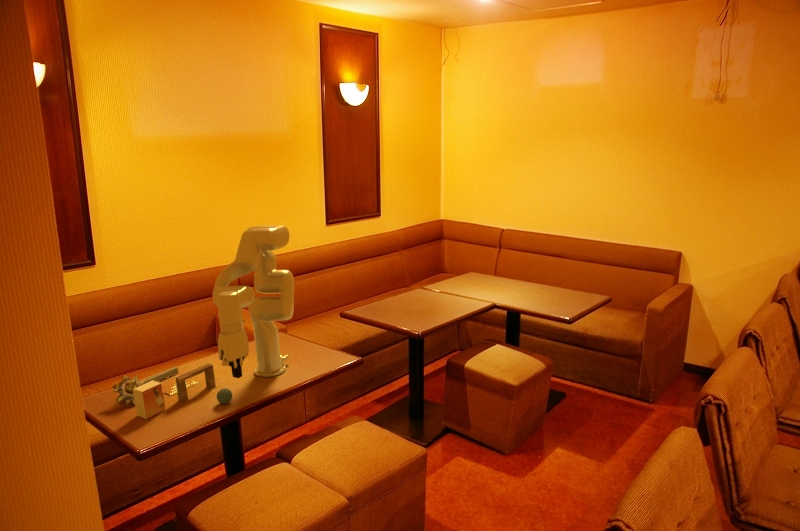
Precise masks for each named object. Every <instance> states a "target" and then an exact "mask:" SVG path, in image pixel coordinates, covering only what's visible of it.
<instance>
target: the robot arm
mask: <svg viewBox="0 0 800 531" xmlns="http://www.w3.org/2000/svg"><path fill="white" fill-rule="evenodd" d="M289 241H290V231H289V229H288V227H287V226H285V225H281V224H280V225H255V226H250V227H248V228H247V229H246V230H244V231H243V232H242V234H241V236H240V241H239V244H238V247H237V251H236V254H235V259H234V260H233V261H231V263H229V264H228V265H227V266H226V267H225V268H223V269H222V271H221V272H220V273H219V274H218V275H217V277H216V279H215V283H214V287H213V290H212V302H213V304H214V305H215V306H217V310H218V311H217V312H218V319H219V328H220V332H219V333H218V339H217V352H218V359H219V360H220V361H221V366H223V367H227V366H228V367H230V368H231V374H232V378H236V379H240V378H242V377H243V371H242V370H243V368H242V367H243V363H244V360H245V359H246V358H247V357H248V356H249V352H250V346H249V339H248V335H247V332H246V329H245V328H244V324H245V319H243V312H242V309H245V308H247V307H248V314H249V317H250V320H251V323H252V328H253V336H254V338H253V339H254V346H255V354H256V363H257V364H256V365H257V366H256V367H255V368H254V371H253V372H254V375H256V376H258V377H262V378H270V377H276V376H279V375H281V374H283V373H284V372H285V371H286V370H287V368H286V367H287V366H286V364H284V363H285V361H288V360H289V359H290V355H289V354H285V355H284V356H283V355H281V349H280V348H281V347H280V337H279V329H278V327H277V324H276V323H275V322H278V321H288V320H291V319H292V317H293V315H294V310H295V309H294V308H295V306H294V305H295V302H294V300H295V278H294V274H293V273H292V271H290V270H288V269H277V256H276V255H275V254H274V252H273V251H277V250H280V249H282V248H285V247H286V246H288V243H289ZM252 272H254V278H253V286H254V288H252V287H251V286H249V285H230V284H231V283H232V282H234V281H235V280H236V279H239V278H241V277H243V276H246V275H248V274H251V273H252ZM255 292H257V293H259V294H267V295H268V294H269V295H270V294H273V295H275V294H280V296H257V297H256V293H255ZM274 321H275V322H274Z"/></svg>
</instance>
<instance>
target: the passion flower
mask: <svg viewBox="0 0 800 531" xmlns="http://www.w3.org/2000/svg"><path fill="white" fill-rule="evenodd" d="M138 379H139V376H138V375H134V376H133V377H132V378H130V377H128V376H127V375H125V374H124V375H123V376H122V380H121V381H120V382H117V383H114V385H112V389H114V390H113V393H118V394H119V395H118V396H117V397H116V398H115V402H121V401H122V400H124V402H125V404H126V405H129V404H130V403H132V405H134V406H135V400H134V394H133V389H134V388H137V387H139V386H141V385H143V384H144V381H143V380H144V379H143V380H138Z"/></svg>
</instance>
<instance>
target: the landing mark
mask: <svg viewBox="0 0 800 531" xmlns="http://www.w3.org/2000/svg"><path fill="white" fill-rule="evenodd" d="M195 381H196V380H195ZM195 381H192V382H193V383H191V384H193V386H195V385H197V384H199V383H200V381H198V380H197V382H195ZM188 383H189V382H188ZM186 384H187V383H186ZM194 384H195V385H194ZM174 385H175V384H174ZM189 385H190V384H188V385H186V388H187V389H188V386H189ZM193 386H192V385H191V387H193ZM171 388H175V389H173V390H171V391H172V393H170V396H169V397H171V395H172V396H174V395H176V394H178V393H177V388H176V385H175V386H173V387H171ZM189 388H190V386H189ZM175 390H176V391H175ZM173 391H174V392H173ZM175 393H176V394H175ZM173 394H174V395H173Z"/></svg>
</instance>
